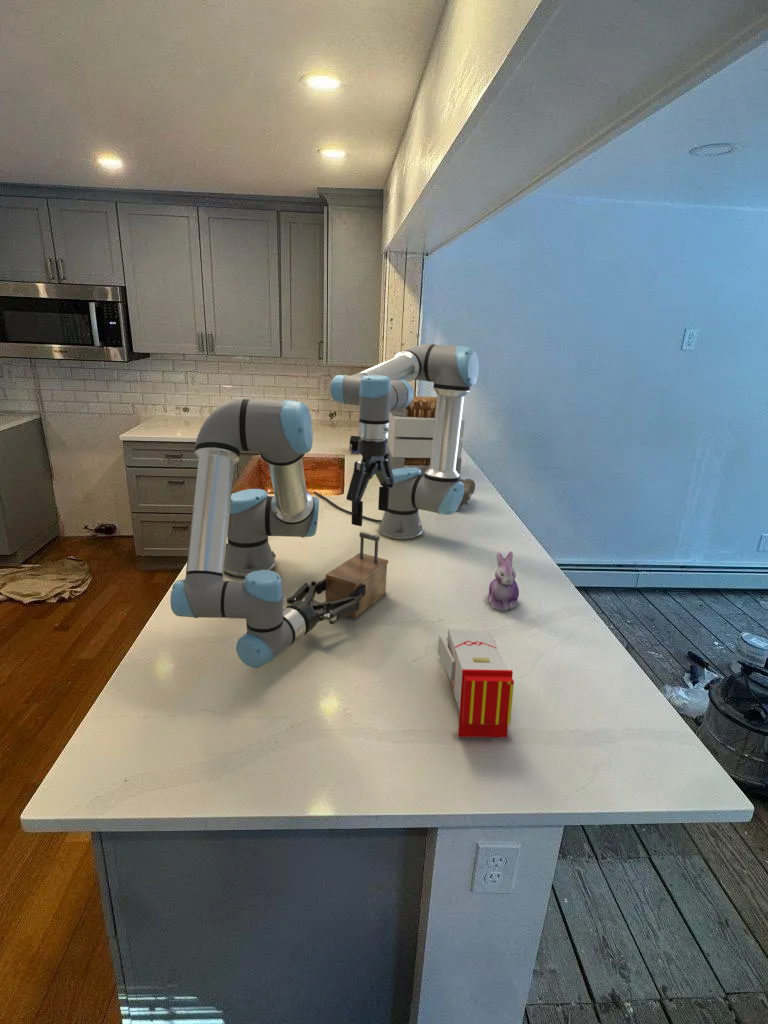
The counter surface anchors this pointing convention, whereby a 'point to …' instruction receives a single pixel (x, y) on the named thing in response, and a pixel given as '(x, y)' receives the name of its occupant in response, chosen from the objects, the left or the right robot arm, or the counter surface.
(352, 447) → the figurine character
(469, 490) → the fossil
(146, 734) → the counter surface
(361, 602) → the chest
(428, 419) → the white wooden crate
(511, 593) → the figurine
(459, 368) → the right robot arm
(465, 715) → the toy
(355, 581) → the door
